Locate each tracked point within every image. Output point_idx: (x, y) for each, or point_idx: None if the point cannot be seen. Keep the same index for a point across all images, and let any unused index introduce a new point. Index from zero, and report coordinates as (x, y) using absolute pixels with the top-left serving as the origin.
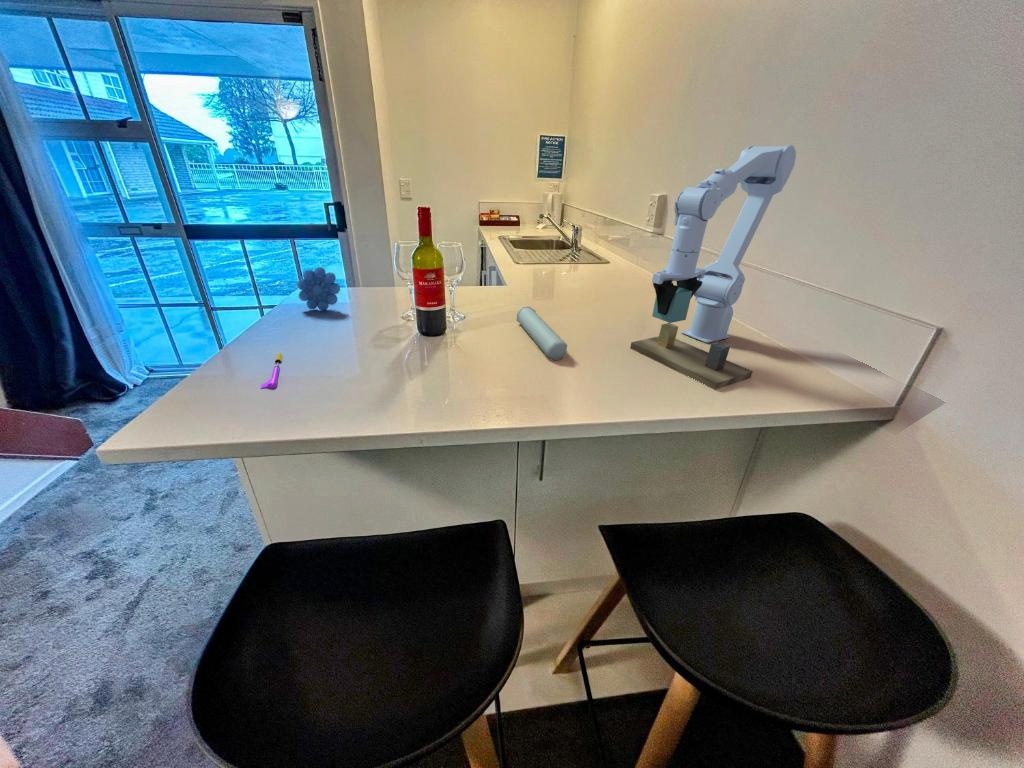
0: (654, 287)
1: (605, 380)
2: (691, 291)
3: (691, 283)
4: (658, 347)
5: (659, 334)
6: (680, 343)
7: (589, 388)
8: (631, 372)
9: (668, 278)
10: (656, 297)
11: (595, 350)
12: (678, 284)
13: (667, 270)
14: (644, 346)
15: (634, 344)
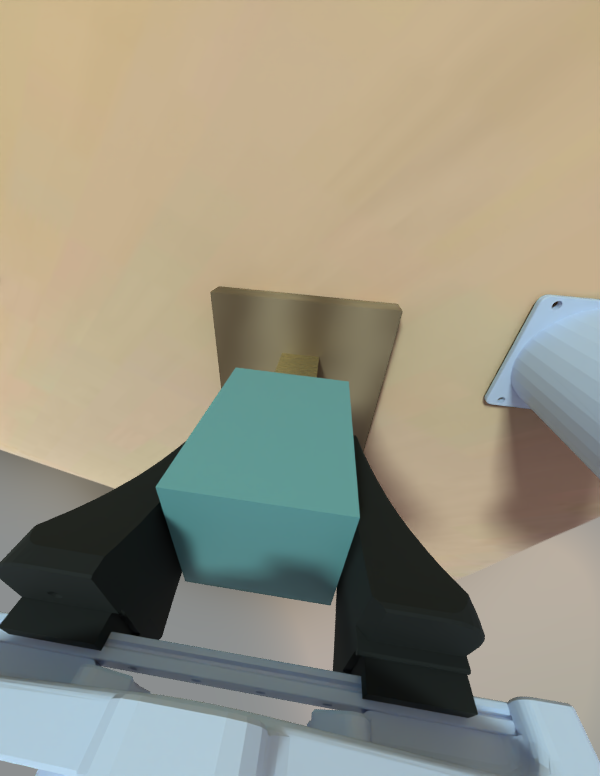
0: (72, 513)
1: (50, 382)
2: (320, 602)
3: (340, 656)
4: (266, 368)
5: (275, 370)
6: (361, 386)
7: (4, 386)
8: (127, 389)
9: (69, 674)
10: (193, 436)
11: (84, 231)
12: (359, 565)
13: (38, 773)
14: (229, 341)
15: (213, 307)
